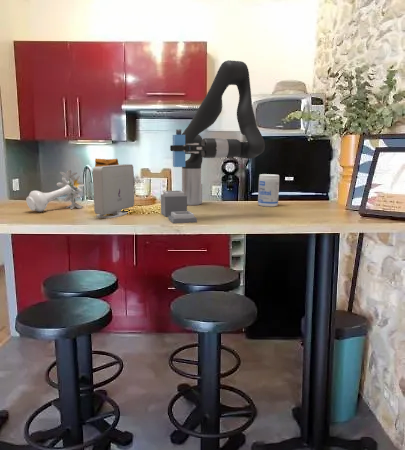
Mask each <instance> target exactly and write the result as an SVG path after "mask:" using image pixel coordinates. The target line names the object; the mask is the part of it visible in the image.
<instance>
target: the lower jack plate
mask: <svg viewBox="0 0 405 450" xmlns="http://www.w3.org/2000/svg"><path fill="white" fill-rule="evenodd" d="M167 219H168V221H170V222H171V223H172V224H185V223H187V224H188V223H189V222H191V223H197V222H198V218H197V217H196V216H195V213H193V212H191V211H190V210H187V211H180V212H171V215H168V217H167Z"/></svg>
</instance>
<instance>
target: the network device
mask: <svg viewBox="0 0 405 450" xmlns="http://www.w3.org/2000/svg"><path fill="white" fill-rule="evenodd" d="M134 176H135V175H134V165H133V164H129V163H127V164H119V165H110V166H98V167H95V166H94V167H93V168H92V183H93V185H92V187H93V188H92V189H93V208H94V213H95V214H96V215H95V217H96V218H100V219H116V218H120V217H122V216H126V215H128V214H127V213H128V212H126V211H124V212H123V211H121V210H122V209H123V210H127V209H129V208H132V207H134V205H135V186H134V185H135V181H134V179H135V177H134ZM106 214H113V215H106Z"/></svg>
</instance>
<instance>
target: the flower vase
mask: <svg viewBox="0 0 405 450" xmlns="http://www.w3.org/2000/svg"><path fill="white" fill-rule="evenodd" d="M59 174H60V175H62V176H61V182H57V183H56V186H57V187H59V189H56V190H53V191H50V192H42V191H40V190H31V191H30V192H29V194H28V196H27V197H26V198H25V199H26V200H25V201H26V204H27V207H28V208H29V210H31V211H35V212H38V213H40V212H43V211H44V210H46V208H47V205H48V204H49V203H50V202H51V201H53V200H54V199H57V198H59V197H62V196H65V195H66V196H65V198H64V202H69V201H70V203H71V204H70V205H68V206H66V207H65V208H66V209H71V210H72V209H74V208H77V209H82V207H83V206H82V205H80V204H79V203H77V202H76V199H80V198H81V197H82V196H81V194H79V193H82V191H83V188H81V187H84V186H85V184H84V183H83V182H81V177H80V175H78V172H73V173H72V170H71V169H68V170H67V171H66V172H63V171H59ZM76 175H77V177H75V176H76ZM67 179H68V181H67Z"/></svg>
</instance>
